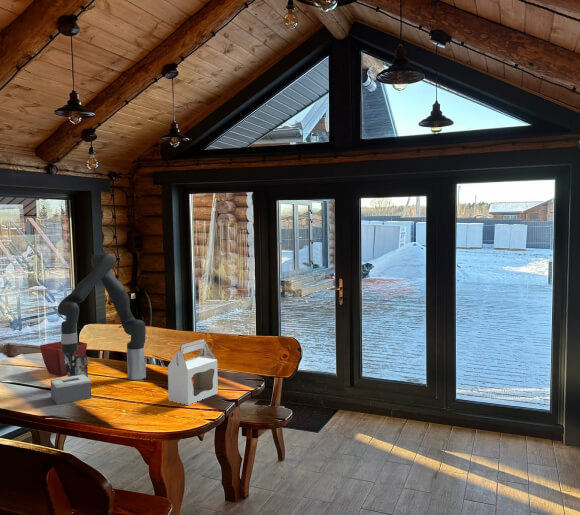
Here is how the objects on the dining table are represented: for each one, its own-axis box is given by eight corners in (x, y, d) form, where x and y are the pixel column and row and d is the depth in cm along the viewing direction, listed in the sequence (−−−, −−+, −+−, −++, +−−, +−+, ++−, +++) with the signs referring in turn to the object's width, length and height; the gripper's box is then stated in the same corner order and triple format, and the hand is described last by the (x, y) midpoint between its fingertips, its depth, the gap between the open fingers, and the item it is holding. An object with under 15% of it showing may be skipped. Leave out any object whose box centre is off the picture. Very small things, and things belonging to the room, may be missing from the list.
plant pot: (70, 366, 325) (69, 339, 324) (88, 371, 313) (87, 343, 312) (40, 373, 309) (39, 345, 308) (58, 379, 298) (57, 349, 297)
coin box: (84, 391, 276) (83, 374, 275) (91, 398, 265) (90, 380, 265) (51, 397, 267) (50, 379, 266) (57, 404, 256) (56, 386, 255)
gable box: (187, 405, 254) (186, 347, 252) (167, 400, 261) (166, 344, 259) (218, 393, 272) (217, 339, 270) (199, 389, 279) (198, 336, 278)
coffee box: (77, 382, 291) (76, 353, 290) (88, 383, 290) (87, 354, 289) (67, 387, 282) (66, 358, 281) (78, 388, 281) (77, 358, 280)
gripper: (81, 343, 261) (82, 376, 262) (73, 338, 272) (74, 369, 273) (64, 345, 256) (65, 378, 257) (58, 340, 268) (59, 372, 269)
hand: (70, 373), depth 265 cm, fingers open, 8 cm apart
